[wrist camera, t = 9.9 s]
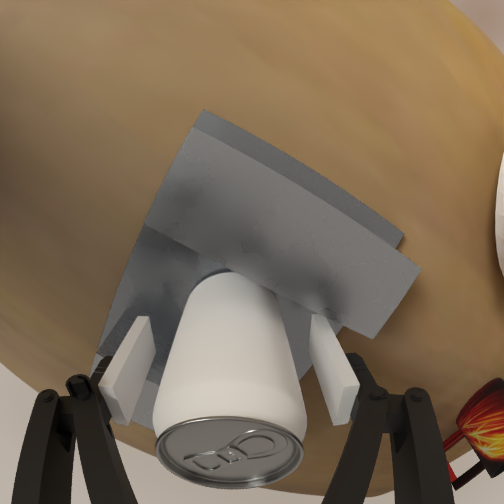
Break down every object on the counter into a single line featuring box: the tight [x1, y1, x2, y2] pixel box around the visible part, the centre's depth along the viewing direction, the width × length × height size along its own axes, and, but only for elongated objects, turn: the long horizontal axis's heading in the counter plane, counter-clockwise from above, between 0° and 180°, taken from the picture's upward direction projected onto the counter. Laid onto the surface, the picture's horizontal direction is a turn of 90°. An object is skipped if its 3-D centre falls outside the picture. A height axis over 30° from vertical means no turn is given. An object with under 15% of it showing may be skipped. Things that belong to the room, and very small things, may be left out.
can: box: [153, 272, 307, 489], centre depth 14 cm, size 6×6×12 cm
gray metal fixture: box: [89, 109, 422, 431], centre depth 18 cm, size 16×22×6 cm
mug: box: [443, 378, 504, 490], centre depth 23 cm, size 10×14×12 cm
